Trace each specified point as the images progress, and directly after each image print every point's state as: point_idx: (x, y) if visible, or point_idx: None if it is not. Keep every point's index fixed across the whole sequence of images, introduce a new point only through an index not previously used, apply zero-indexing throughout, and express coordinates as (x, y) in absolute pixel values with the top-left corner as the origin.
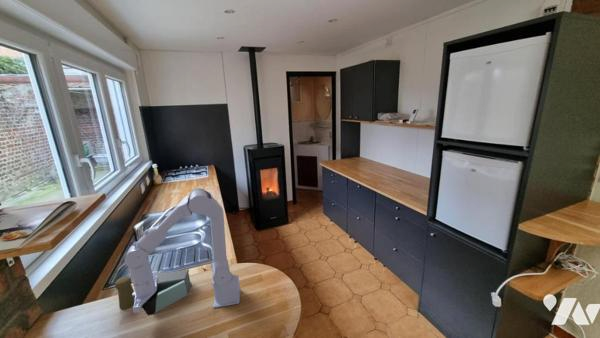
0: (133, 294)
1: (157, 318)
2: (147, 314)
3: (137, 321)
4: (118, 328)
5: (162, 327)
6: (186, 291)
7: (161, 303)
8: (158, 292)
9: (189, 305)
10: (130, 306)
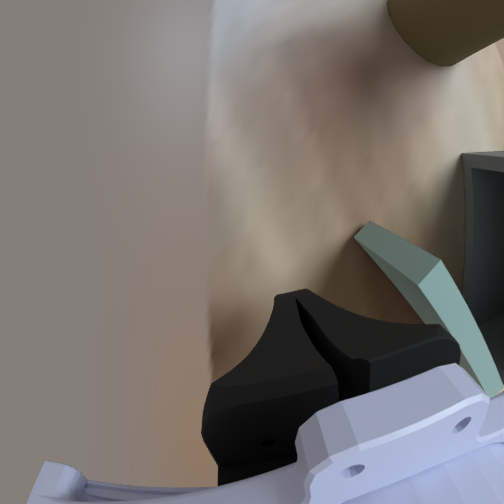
0: (311, 489)
1: (314, 278)
2: (274, 302)
3: (299, 149)
4: (242, 54)
5: (242, 345)
6: None
7: (403, 290)
8: (496, 174)
9: None
10: (411, 40)
